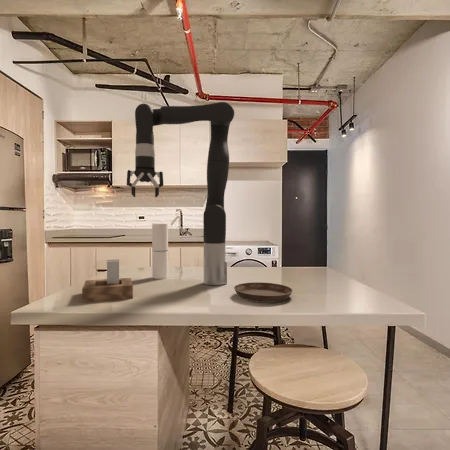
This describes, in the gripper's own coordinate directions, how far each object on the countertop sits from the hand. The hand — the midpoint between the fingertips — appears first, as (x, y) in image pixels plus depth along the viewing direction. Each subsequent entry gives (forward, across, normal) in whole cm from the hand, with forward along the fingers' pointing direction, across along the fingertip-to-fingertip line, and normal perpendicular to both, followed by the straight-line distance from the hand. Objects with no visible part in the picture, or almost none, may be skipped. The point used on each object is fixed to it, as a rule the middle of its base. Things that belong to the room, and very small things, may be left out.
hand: (145, 197), depth 127 cm
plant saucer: (+37, -38, +30) cm, 61 cm away
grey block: (+36, +14, +11) cm, 40 cm away
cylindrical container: (+36, -8, -16) cm, 40 cm away
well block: (+36, +14, +11) cm, 40 cm away
